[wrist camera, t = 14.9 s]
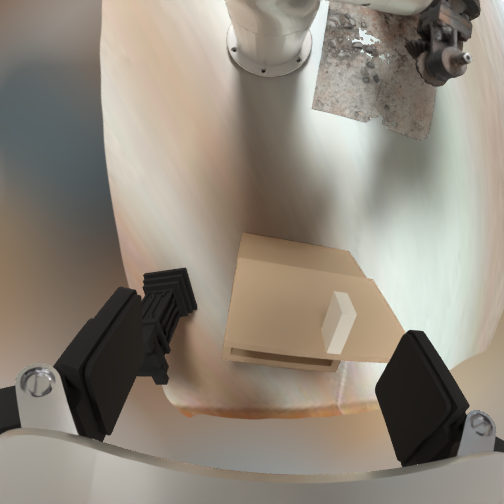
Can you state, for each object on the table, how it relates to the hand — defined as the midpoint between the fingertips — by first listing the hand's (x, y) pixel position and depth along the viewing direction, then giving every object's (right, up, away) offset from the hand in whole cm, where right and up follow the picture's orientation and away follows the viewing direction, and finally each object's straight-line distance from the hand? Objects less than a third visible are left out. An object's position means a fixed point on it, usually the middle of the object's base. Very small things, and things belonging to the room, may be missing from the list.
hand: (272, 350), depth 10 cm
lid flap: (+6, -2, +20) cm, 21 cm away
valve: (+22, +42, +24) cm, 53 cm away
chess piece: (-15, -4, +44) cm, 46 cm away
